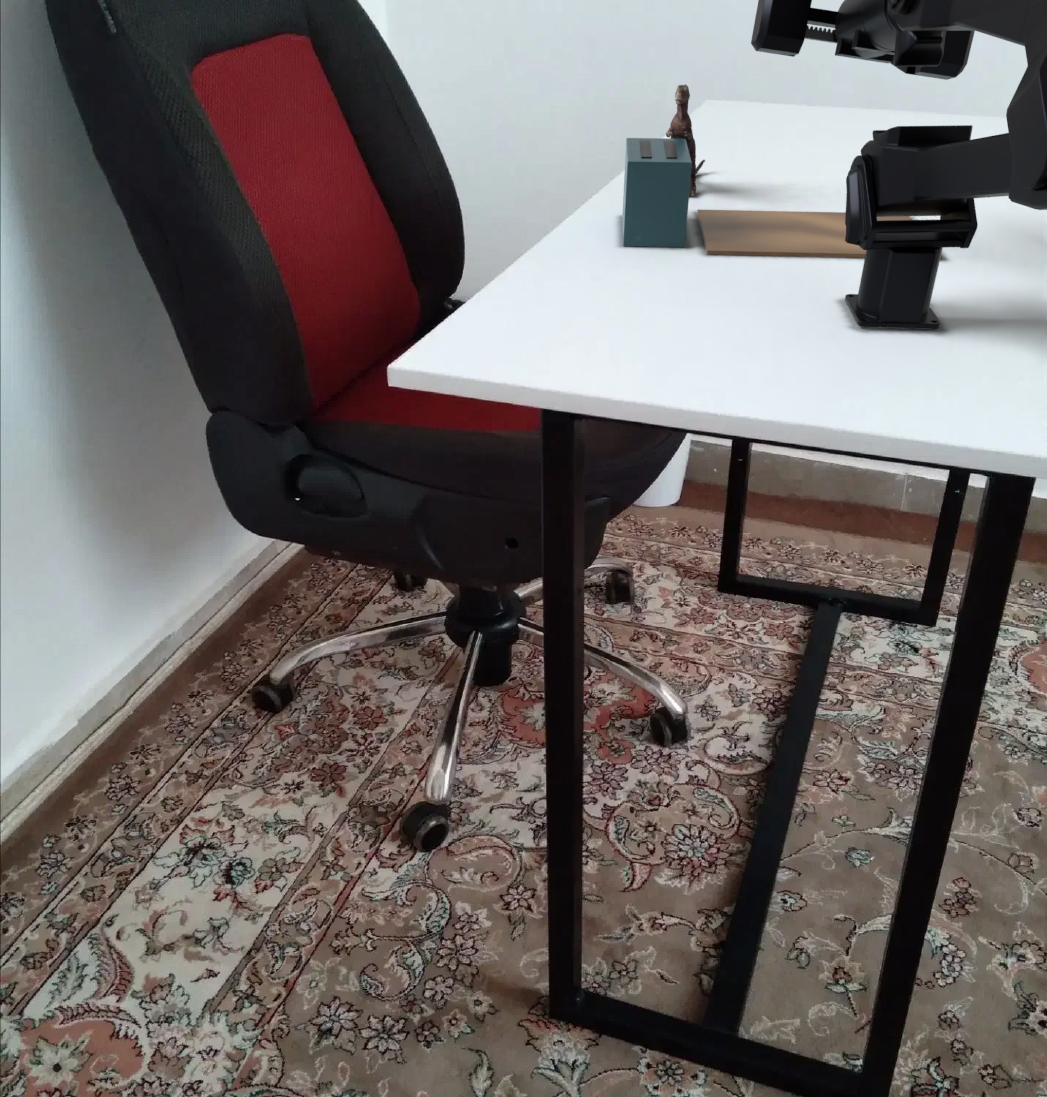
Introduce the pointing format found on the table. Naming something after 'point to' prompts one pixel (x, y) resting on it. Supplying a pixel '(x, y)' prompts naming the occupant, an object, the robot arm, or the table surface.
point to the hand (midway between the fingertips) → (831, 39)
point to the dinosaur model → (685, 131)
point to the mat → (778, 233)
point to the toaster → (656, 192)
